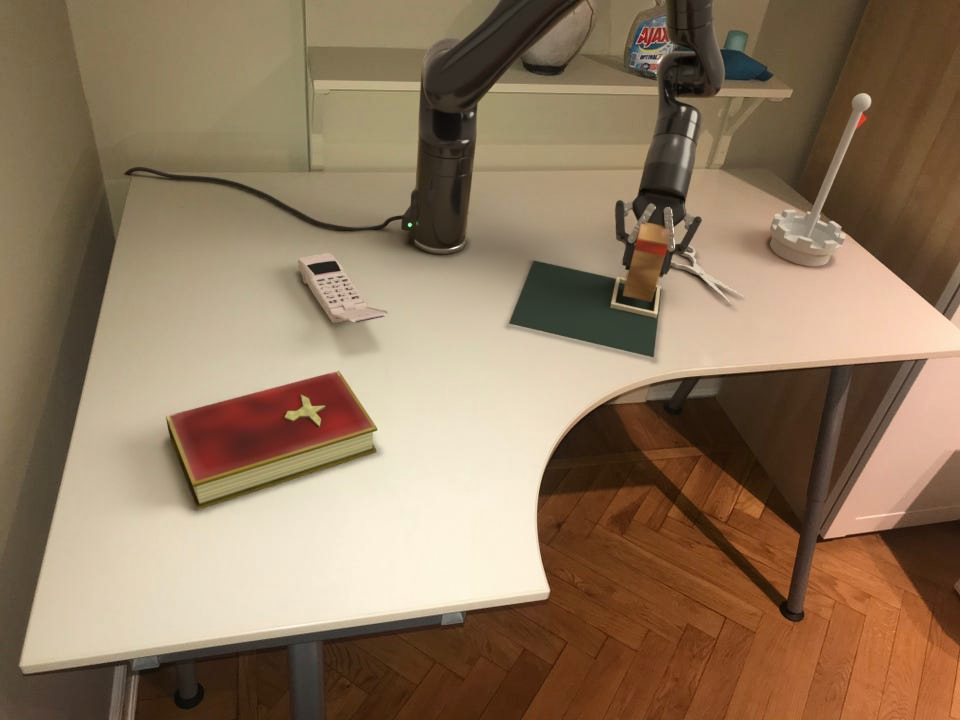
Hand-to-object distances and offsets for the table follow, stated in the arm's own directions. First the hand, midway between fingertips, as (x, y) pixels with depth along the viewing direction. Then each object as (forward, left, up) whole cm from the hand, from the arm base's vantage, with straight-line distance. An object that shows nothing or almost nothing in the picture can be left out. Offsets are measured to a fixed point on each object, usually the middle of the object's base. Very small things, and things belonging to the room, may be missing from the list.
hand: (644, 271), depth 119 cm
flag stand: (+29, +33, -7) cm, 44 cm away
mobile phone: (-44, -18, -7) cm, 48 cm away
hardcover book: (-39, -48, -7) cm, 62 cm away
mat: (-7, -3, -7) cm, 10 cm away
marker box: (0, +2, -4) cm, 5 cm away
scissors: (+10, +15, -7) cm, 19 cm away
